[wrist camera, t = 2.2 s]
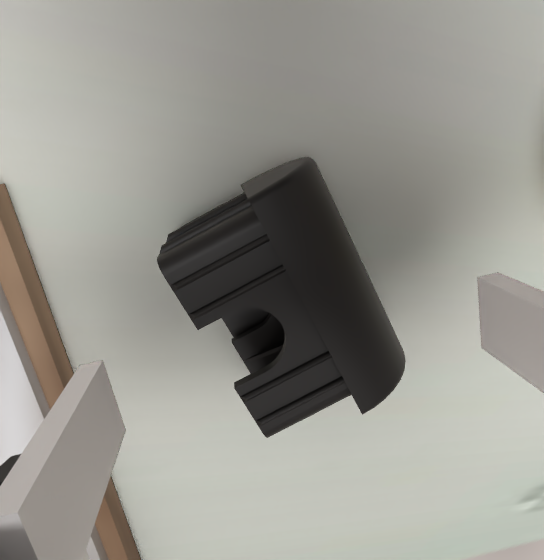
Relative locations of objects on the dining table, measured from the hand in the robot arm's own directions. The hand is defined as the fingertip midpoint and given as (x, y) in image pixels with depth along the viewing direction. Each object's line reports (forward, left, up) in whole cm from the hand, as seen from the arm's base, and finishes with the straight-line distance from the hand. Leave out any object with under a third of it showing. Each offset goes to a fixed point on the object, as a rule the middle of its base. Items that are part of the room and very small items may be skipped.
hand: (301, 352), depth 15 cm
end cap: (0, 0, -9) cm, 9 cm away
